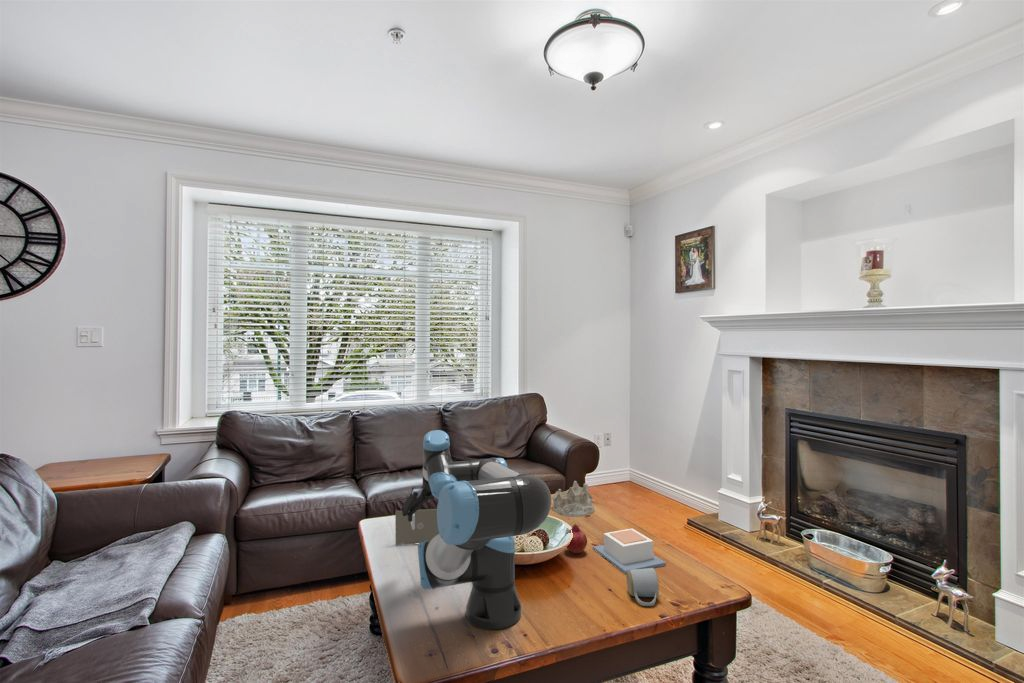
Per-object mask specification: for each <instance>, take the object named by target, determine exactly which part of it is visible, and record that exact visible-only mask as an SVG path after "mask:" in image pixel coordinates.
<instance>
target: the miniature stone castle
mask: <svg viewBox="0 0 1024 683" xmlns="http://www.w3.org/2000/svg"><path fill="white" fill-rule="evenodd" d="M572 483H573V484H572V486H570V487H569V489H567V490H565V491H562V489H561V488H558V490H556V492H554V494H553V496H552V497H551V500H552V501H553V505H552V510H553V511H554V512H555V513H556V514H558V515H561V516H565V517H569V518H581V517H585V516H589V515H592V514H594V513H595V512H596V511H595V506H594V505H593V496H592V495H591V494H590V490H589V485H588V483H583V487H581V486H580V485H579V483H578V482H577V480H574V481H573V482H572Z"/></svg>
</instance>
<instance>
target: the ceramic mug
mask: <svg viewBox="0 0 1024 683" xmlns="http://www.w3.org/2000/svg"><path fill="white" fill-rule="evenodd" d="M626 586H627V591H628V594H629V595H630V596H632V597H634V598H635V600H636V602H637V603H638V605H641V606H643V607H645V606H650V607H653V606H654V605H655V603H656V601H657V598H658V596H659V592H660V591H659V590H660V588H659V580H658V575H657V572H656V568H647V569H633V570H630V571H628V572H627V574H626ZM639 597H640V598H653V599H652V601H650V602H645V601H642V600H641V599H640V598H639Z"/></svg>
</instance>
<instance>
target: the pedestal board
mask: <svg viewBox="0 0 1024 683" xmlns="http://www.w3.org/2000/svg"><path fill="white" fill-rule="evenodd" d="M593 549H594V550H596V551H597V552H598V553H599V554H600V555H599V554H598V553H597V552H596V551H595V552H596V553H597V554H598V555H599V556H601V555H602V556H603V557H604V558H603V557H602V556H601V557H602V558H603V559H605V558H606V559H607V560H608V561H607V560H606V559H605V560H606V561H607V562H609V561H610V562H611V563H612V564H611V563H610V562H609V563H610V564H611V565H613V566H614V565H615V566H616V567H615V566H614V567H615V568H616V569H618V570H619V571H621V572H622V573H623V574H624V575H627V572H628V571H630V570H633V569H647V568H654V569H656V568H661V567H665V566H666V565H667V563H666V561H664V560H662V559H661V558H659V557H658V556H656V555H655V554H654V540H652V539H650V538H649V537H647V536H645V535H644V534H642V533H641V532H639V531H637V530H636V529H634V528H627V529H620V530H615V531H610V532H604V533H603V544H600V545H596V546H594V545H593V546H592V550H593ZM594 550H593V551H594Z"/></svg>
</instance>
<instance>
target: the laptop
mask: <svg viewBox="0 0 1024 683" xmlns="http://www.w3.org/2000/svg"><path fill="white" fill-rule="evenodd" d="M394 514H395V517H394V518H395V546H402V545H401V544H412V545H416V544H415V543H420V542H424V541H426V540H428V541H431V540H432V539H433V538H434V537H435V536H436V535H438V534H439V530H438V524H437V508H430V509H428V508H427V509H418V510H417V511H416V512H415V513H414V514H415V529H414V530H412V526H411V522H409V521H408V518H407V516H408V515H406V516H403V514H402V510H396V511H395V513H394Z"/></svg>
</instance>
